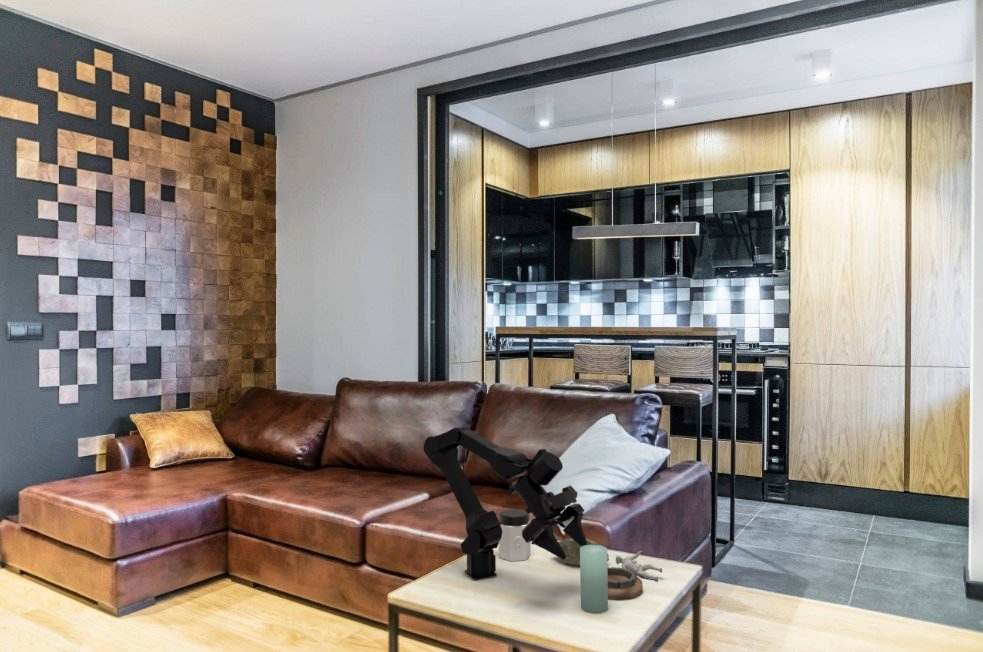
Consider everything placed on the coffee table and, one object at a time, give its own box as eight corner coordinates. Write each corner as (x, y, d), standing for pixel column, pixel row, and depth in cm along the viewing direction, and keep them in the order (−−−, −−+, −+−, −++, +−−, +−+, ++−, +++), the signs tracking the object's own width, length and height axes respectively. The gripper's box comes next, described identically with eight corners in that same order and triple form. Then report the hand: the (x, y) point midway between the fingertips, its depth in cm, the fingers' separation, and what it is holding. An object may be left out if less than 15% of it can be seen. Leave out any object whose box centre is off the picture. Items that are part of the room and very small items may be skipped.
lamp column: (590, 615, 144) (589, 554, 144) (575, 605, 150) (574, 546, 150) (613, 610, 146) (612, 550, 147) (598, 600, 152) (597, 543, 152)
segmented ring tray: (606, 604, 150) (606, 588, 150) (576, 584, 162) (576, 570, 162) (653, 594, 155) (653, 579, 155) (621, 576, 167) (621, 562, 167)
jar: (502, 562, 178) (501, 517, 179) (495, 553, 186) (495, 510, 187) (534, 559, 180) (534, 515, 180) (526, 550, 188) (526, 508, 188)
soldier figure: (650, 589, 161) (607, 564, 168) (652, 596, 165) (609, 572, 171) (665, 562, 165) (622, 539, 171) (666, 570, 168) (624, 547, 175)
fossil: (588, 585, 171) (613, 562, 176) (580, 553, 167) (606, 531, 173) (549, 562, 182) (574, 541, 187) (542, 532, 178) (567, 511, 183)
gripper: (531, 483, 148) (574, 542, 140) (576, 469, 162) (618, 522, 155) (504, 513, 153) (544, 572, 145) (550, 497, 167) (589, 550, 160)
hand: (576, 552), depth 151 cm, fingers open, 9 cm apart
